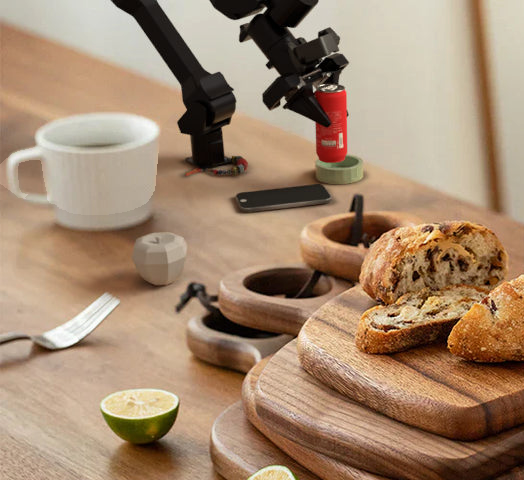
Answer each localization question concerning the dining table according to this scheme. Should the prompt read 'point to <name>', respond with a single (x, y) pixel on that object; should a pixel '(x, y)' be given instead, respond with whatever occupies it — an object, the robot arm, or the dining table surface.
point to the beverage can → (335, 136)
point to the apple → (160, 257)
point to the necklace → (239, 169)
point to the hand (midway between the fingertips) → (338, 121)
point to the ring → (340, 170)
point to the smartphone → (283, 198)
